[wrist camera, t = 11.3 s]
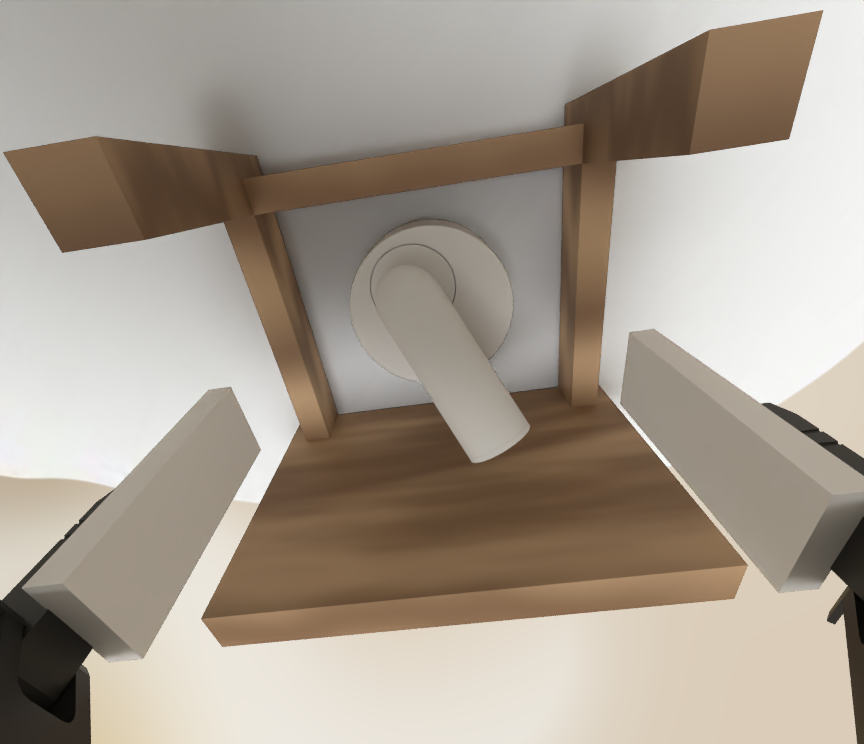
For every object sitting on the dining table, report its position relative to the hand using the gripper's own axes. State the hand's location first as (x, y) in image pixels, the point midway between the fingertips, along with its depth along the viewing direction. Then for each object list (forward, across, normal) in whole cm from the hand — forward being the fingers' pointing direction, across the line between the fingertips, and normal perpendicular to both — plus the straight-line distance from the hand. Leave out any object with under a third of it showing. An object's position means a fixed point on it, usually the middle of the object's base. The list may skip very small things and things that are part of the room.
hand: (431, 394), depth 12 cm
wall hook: (+11, +1, -1) cm, 11 cm away
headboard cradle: (+10, 0, -1) cm, 10 cm away
